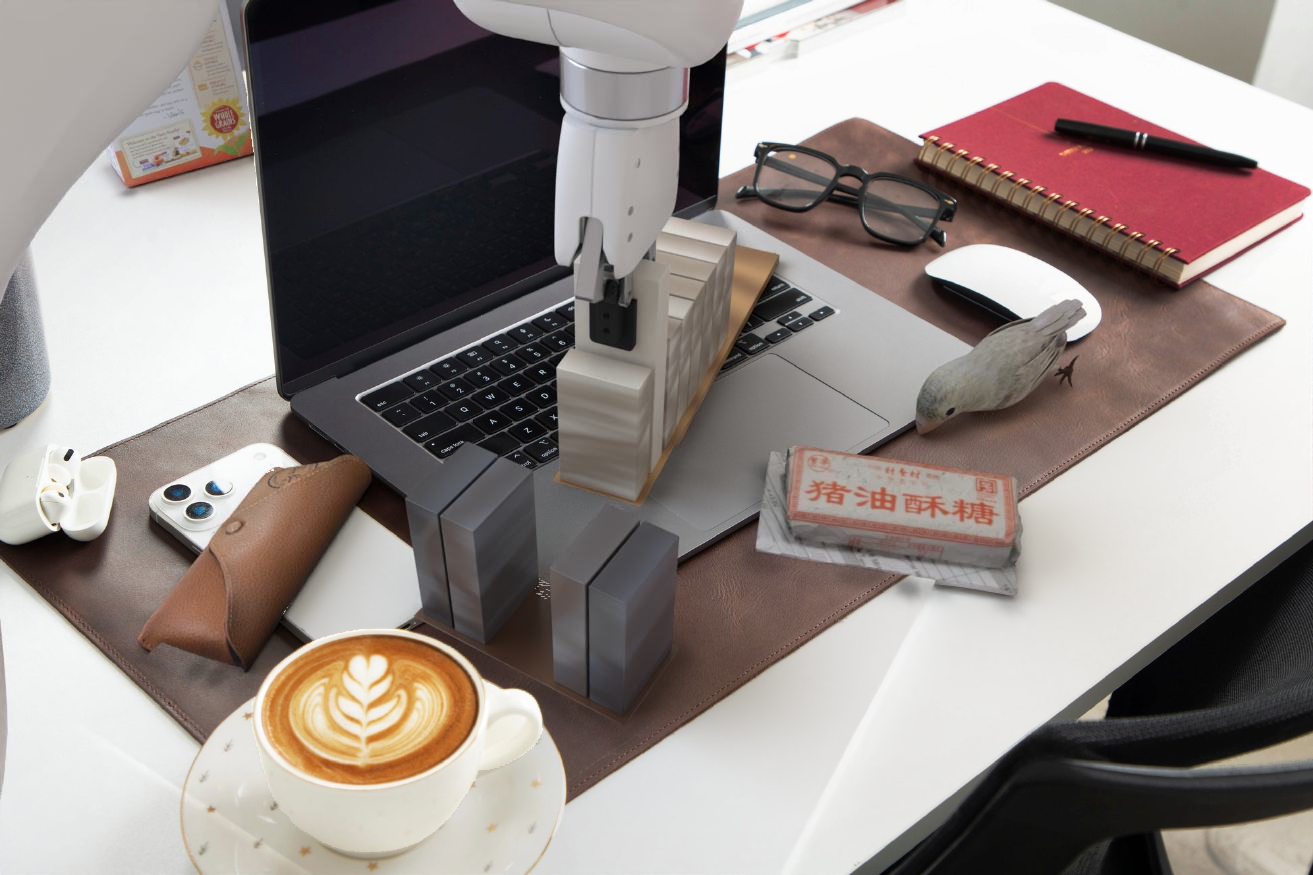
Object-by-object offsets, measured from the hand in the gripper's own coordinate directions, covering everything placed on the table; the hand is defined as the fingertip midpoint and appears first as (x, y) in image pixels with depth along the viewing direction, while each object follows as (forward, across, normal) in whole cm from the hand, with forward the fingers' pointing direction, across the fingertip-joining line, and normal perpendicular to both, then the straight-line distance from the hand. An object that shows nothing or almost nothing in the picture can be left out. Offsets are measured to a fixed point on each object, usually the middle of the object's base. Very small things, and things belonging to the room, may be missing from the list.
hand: (620, 330), depth 78 cm
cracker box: (+13, -25, -59) cm, 65 cm away
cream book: (+12, 0, 0) cm, 12 cm away
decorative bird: (+13, -18, +25) cm, 34 cm away
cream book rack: (+13, -13, 0) cm, 18 cm away
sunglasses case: (+13, +19, -18) cm, 29 cm away
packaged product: (+13, -1, +20) cm, 24 cm away
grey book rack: (+13, +17, +2) cm, 21 cm away
